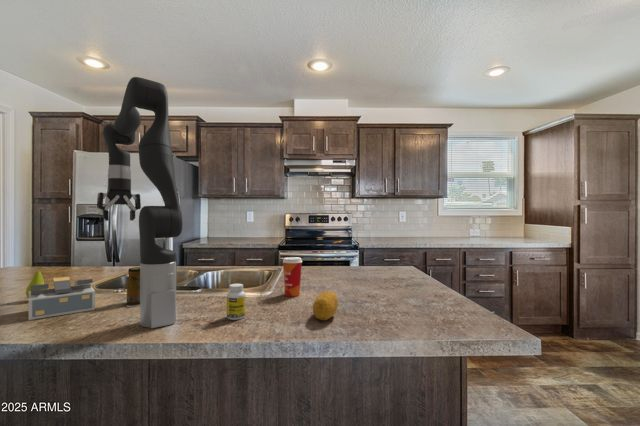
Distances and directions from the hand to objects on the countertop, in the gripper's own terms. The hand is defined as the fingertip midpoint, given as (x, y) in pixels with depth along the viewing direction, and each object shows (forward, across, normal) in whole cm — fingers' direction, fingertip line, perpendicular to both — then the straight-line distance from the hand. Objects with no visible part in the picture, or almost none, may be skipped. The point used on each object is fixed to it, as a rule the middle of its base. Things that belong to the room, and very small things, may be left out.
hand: (119, 220), depth 126 cm
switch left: (+21, -25, -9) cm, 33 cm away
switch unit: (+28, -19, -9) cm, 35 cm away
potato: (+29, +33, -75) cm, 87 cm away
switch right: (+21, -14, -10) cm, 27 cm away
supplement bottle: (+29, +14, -56) cm, 64 cm away
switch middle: (+21, -19, -9) cm, 30 cm away
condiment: (+28, 0, -18) cm, 34 cm away
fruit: (+28, -23, +11) cm, 38 cm away
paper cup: (+28, +44, -49) cm, 72 cm away
